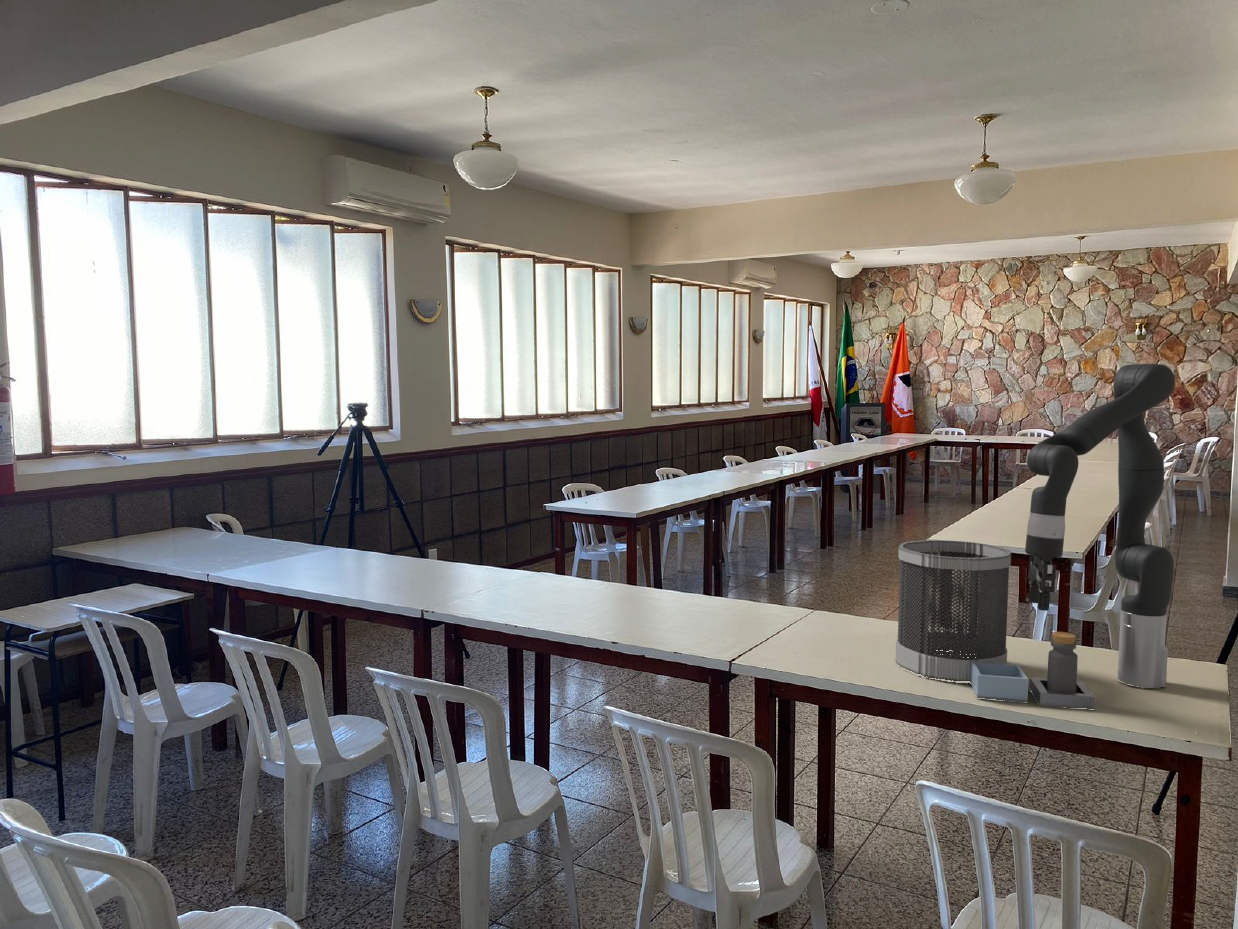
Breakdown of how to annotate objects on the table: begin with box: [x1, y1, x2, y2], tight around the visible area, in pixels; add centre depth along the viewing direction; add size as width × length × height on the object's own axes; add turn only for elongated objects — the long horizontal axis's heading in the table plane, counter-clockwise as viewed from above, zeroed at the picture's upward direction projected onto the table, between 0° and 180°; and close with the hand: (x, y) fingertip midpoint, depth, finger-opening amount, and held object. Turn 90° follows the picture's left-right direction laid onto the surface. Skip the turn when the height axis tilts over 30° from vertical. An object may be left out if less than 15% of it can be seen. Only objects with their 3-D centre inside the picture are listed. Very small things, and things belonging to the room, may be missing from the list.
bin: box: [970, 662, 1029, 703], centre depth 201 cm, size 10×10×6 cm
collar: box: [1028, 676, 1097, 710], centre depth 197 cm, size 11×11×3 cm
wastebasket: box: [895, 539, 1012, 681], centre depth 220 cm, size 25×25×30 cm
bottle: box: [1047, 631, 1079, 693], centre depth 197 cm, size 6×6×15 cm
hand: (1038, 606), depth 196 cm, fingers open, 8 cm apart
